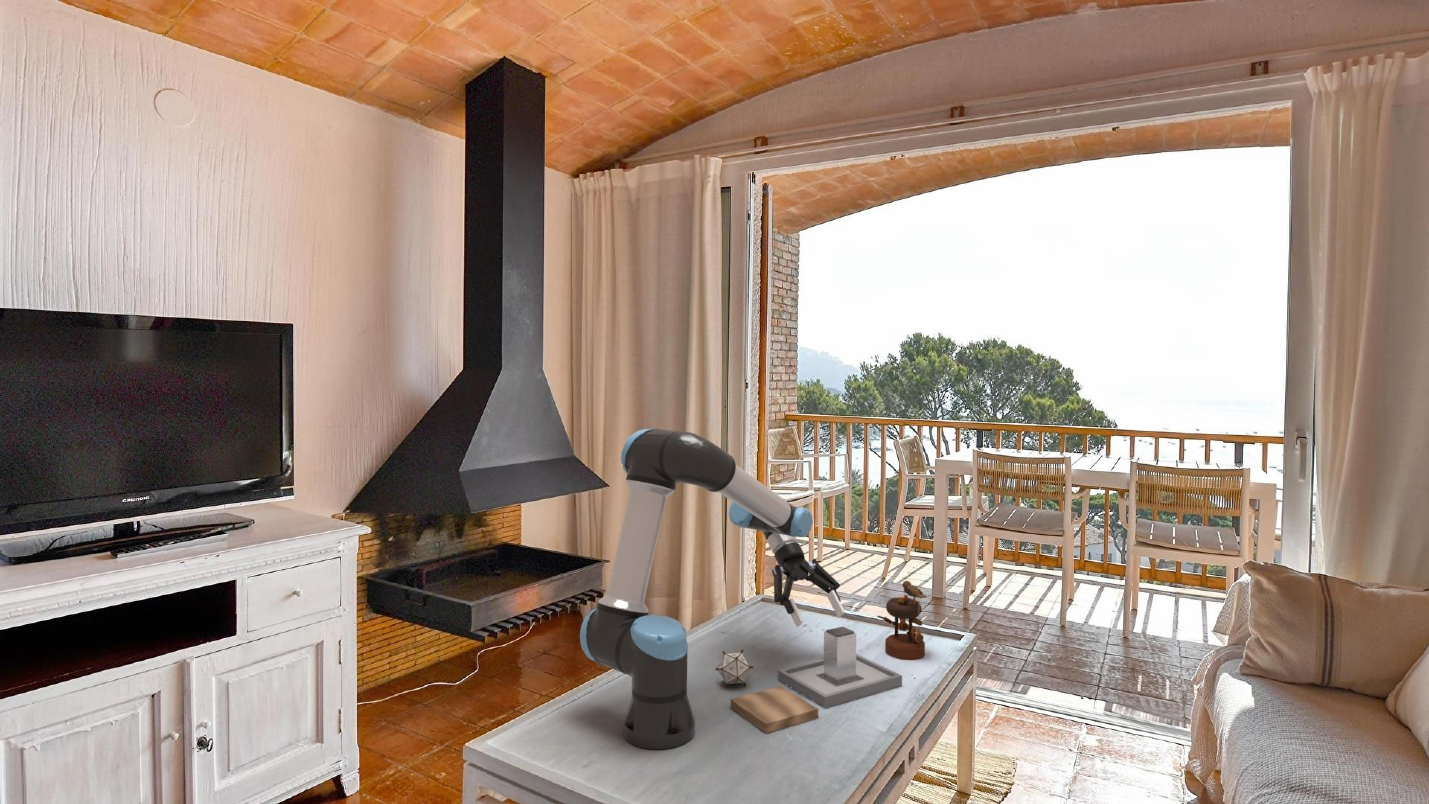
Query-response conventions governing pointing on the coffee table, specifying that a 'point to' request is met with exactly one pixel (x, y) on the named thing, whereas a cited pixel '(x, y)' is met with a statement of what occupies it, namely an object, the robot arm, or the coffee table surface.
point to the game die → (734, 668)
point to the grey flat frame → (825, 694)
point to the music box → (905, 625)
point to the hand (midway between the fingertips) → (821, 619)
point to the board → (774, 709)
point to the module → (839, 656)
